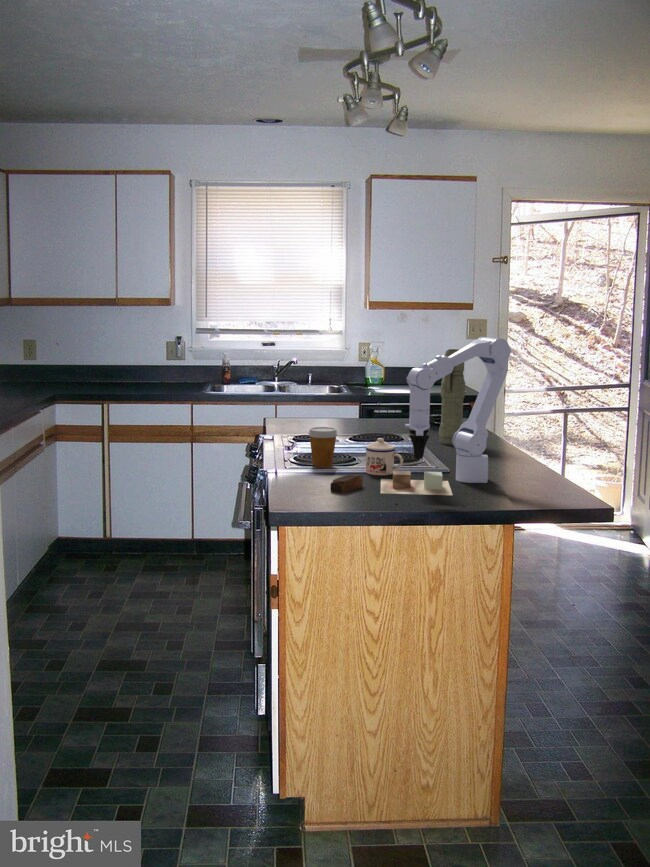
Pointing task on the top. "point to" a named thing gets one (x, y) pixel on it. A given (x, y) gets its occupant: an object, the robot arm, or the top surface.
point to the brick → (346, 483)
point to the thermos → (452, 402)
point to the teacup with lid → (381, 458)
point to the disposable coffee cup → (322, 445)
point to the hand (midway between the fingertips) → (418, 456)
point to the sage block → (433, 480)
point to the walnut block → (401, 479)
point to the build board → (414, 488)
